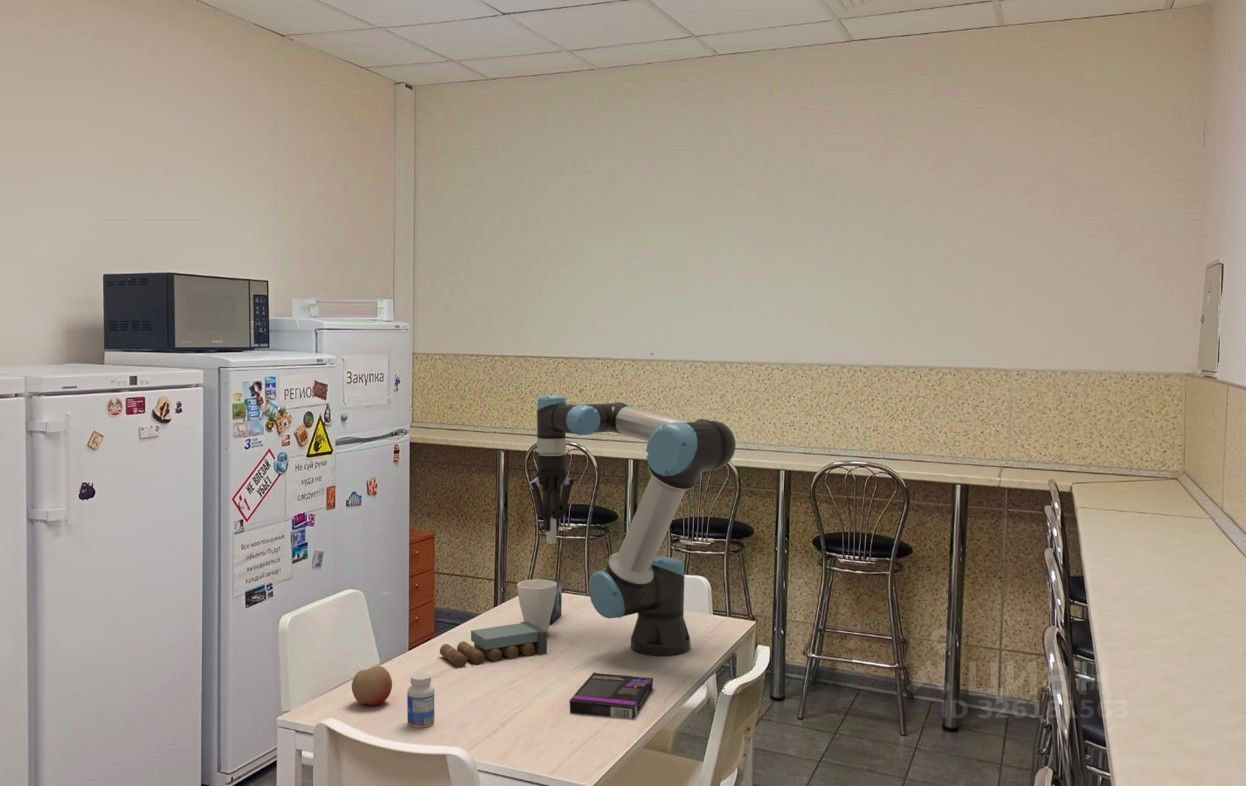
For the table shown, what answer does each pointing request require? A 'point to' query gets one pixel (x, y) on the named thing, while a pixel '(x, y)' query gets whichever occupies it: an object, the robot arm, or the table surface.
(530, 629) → the slab
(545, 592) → the cup
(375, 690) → the fruit
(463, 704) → the table surface
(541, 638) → the bar
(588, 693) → the box
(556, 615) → the small box
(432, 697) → the pill bottle
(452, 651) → the roller bed
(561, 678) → the table surface
